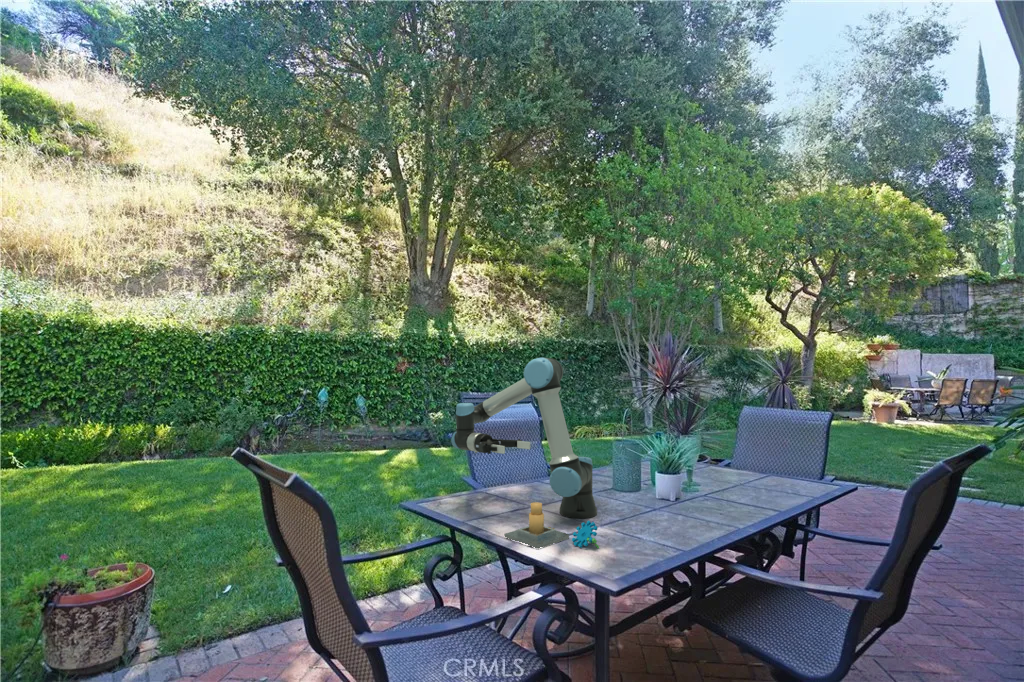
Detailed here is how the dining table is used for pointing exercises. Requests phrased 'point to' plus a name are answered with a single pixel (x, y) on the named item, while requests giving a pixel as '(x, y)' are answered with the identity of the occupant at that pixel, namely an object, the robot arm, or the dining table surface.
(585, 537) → the gear
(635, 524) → the dining table surface
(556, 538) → the junction box
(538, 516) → the stacked tan cylinders
